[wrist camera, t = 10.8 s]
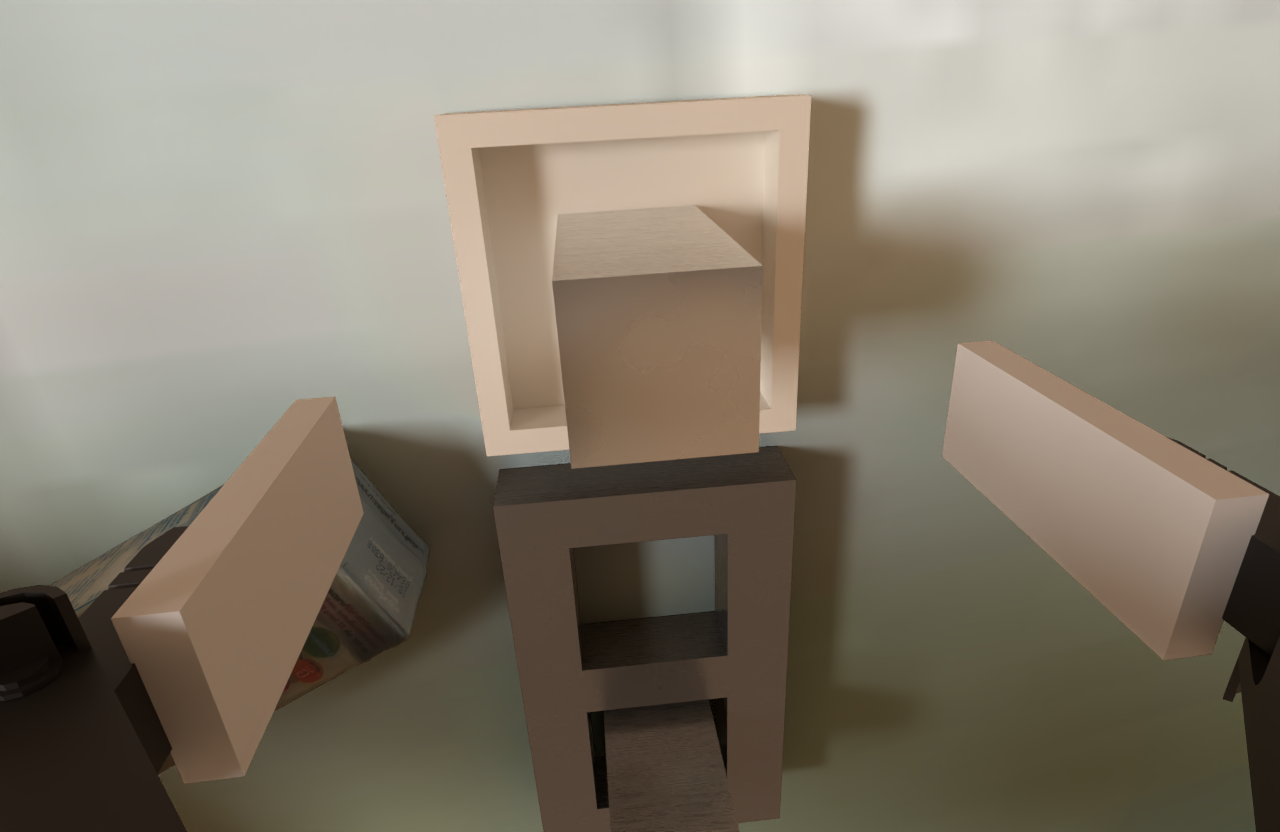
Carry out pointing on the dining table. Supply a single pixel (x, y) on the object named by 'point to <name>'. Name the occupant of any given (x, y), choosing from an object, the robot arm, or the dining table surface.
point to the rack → (651, 647)
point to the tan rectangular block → (656, 336)
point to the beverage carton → (353, 608)
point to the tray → (608, 181)
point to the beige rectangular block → (666, 770)
